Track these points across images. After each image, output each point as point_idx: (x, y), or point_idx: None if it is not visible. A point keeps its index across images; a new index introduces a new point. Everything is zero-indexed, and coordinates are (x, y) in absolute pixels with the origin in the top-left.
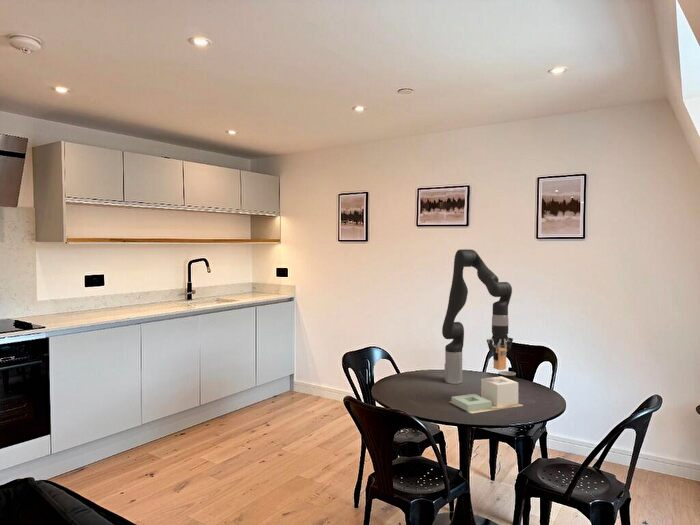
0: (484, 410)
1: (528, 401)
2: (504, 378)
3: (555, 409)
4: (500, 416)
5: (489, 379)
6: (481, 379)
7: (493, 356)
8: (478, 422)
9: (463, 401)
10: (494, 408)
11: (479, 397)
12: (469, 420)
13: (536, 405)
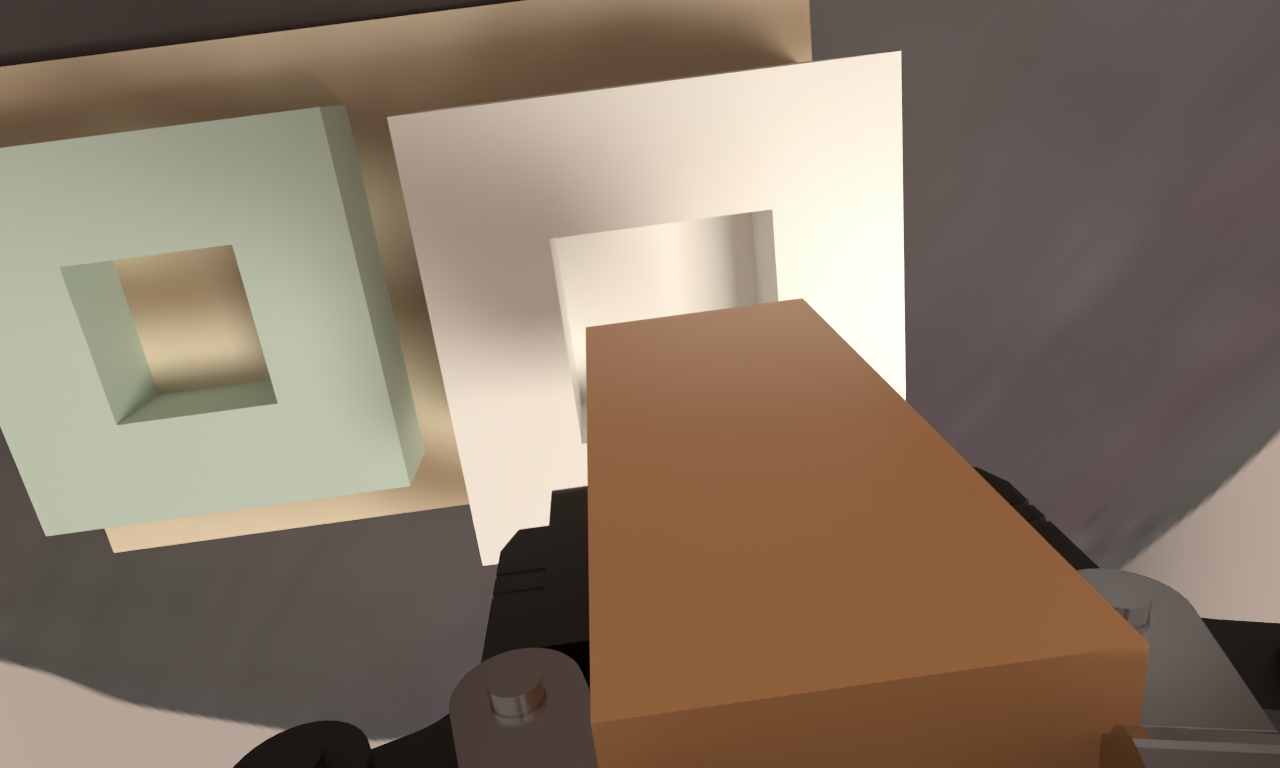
0: (304, 501)
1: (1033, 264)
2: (852, 218)
3: (1091, 555)
4: (431, 613)
5: (529, 208)
6: (390, 123)
7: (496, 604)
8: (139, 703)
9: (25, 402)
10: (450, 468)
11: (318, 299)
12: (64, 645)
13: (1010, 410)
